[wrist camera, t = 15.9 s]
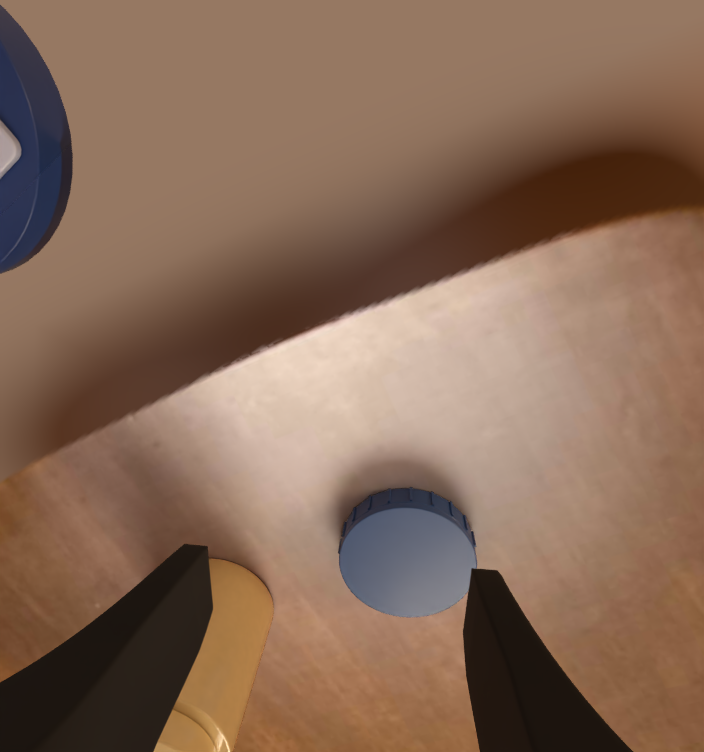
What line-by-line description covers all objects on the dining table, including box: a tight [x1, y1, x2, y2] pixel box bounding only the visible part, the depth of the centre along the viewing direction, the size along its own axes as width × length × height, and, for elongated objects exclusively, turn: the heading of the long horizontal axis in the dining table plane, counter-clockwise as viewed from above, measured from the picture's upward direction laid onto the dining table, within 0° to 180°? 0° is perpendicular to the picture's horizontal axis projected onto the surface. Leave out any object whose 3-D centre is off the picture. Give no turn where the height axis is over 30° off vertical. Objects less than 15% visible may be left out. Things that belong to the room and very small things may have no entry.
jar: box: [154, 558, 274, 752], centre depth 22 cm, size 6×6×8 cm
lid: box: [338, 487, 477, 617], centre depth 23 cm, size 6×6×2 cm
